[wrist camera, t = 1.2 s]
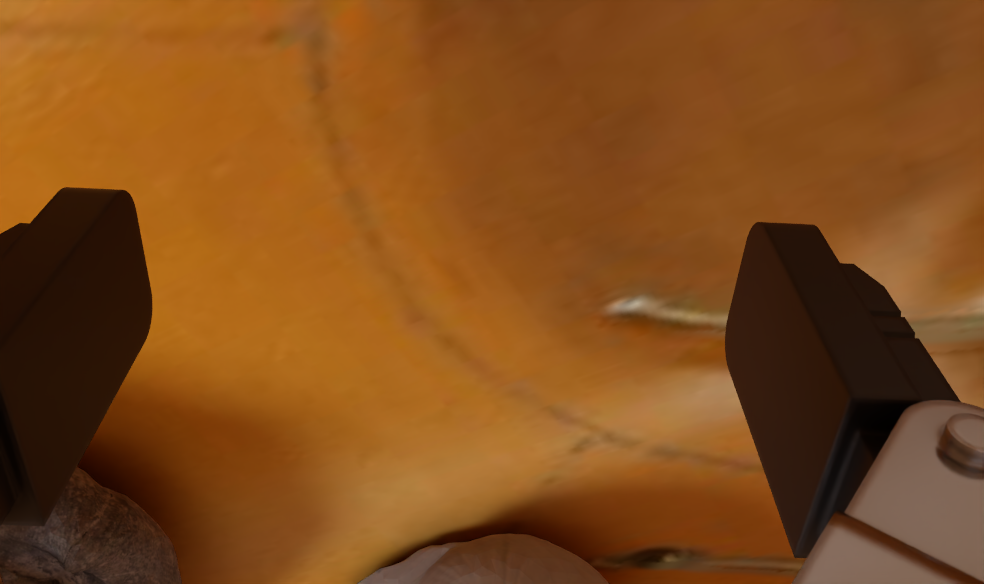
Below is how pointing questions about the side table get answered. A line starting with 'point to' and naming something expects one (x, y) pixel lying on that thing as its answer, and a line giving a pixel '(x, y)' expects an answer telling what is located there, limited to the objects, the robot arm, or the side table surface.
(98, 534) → the fossil
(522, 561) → the seashell
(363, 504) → the side table surface
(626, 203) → the side table surface
